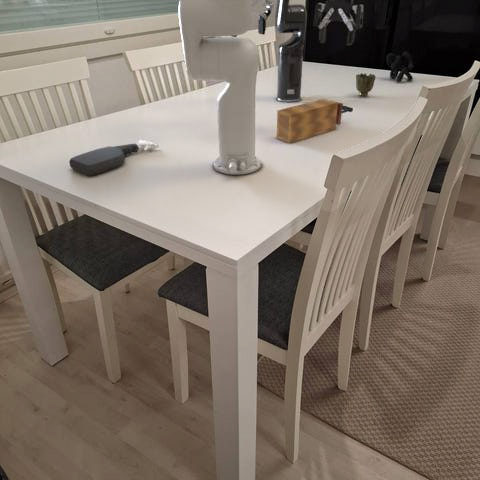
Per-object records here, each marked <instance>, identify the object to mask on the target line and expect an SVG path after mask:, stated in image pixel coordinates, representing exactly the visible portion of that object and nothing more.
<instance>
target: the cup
mask: <svg viewBox="0 0 480 480" xmlns="http://www.w3.org/2000/svg"><path fill="white" fill-rule="evenodd" d="M376 76H377V75H375V74H374V73H369V74H368V75H367V73H360V74H359V73H358V74H356V75H355V87H356V90H357V92H358V96H359V97H368V96H369V93H370V92H371V91H372V90H373V88H374V85H375V81H376V78H377V77H376Z"/></svg>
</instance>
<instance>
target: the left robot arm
mask: <svg viewBox="0 0 480 480" xmlns="http://www.w3.org/2000/svg"><path fill="white" fill-rule="evenodd" d="M274 5H275V4H274V3H273V2H272V1H270V0H179V1H178V20H179V29H180V37H181V45H182V50H183V51H182V52H183V59H184V64H185V70H186V73H187V76H189V78H190V79H192V80H194V81H200V82H201V81H202V82H225V83H226V85H225V86H224V87H223V88H222V90H221V91H220V92H219V94H218V96H217V100H216V110H217V111H216V112H217V133H218V135H217V136H218V137H217V138H218V157H216V158H215V159H214V160H213V167H214V169H215V170H216V171H217V172H219V173H222V174H226V175H233V176H234V175H238V176H239V175H247V174H252V173H254V172H256V171H258V170H259V169H260V168H261V166H262V161H261V159H260V158H259V157H258V156H256V90H257V89H256V88H257V76H258V70H259V62H260V61H259V60H260V50H259V47H258V44H256V42H255V41H254V40H252V39H249V38H246V37H238V36H241V35H244V34H246V33H247V32H248V31H249V30H250V29H251V26H252V25H251V24H252V20H253V19H252V17H253V15H257V16H258V18H259V19H258V21H257V28H258V29H257V32H258V33H257V34H259V35H265V34H266V30H267V20H268V17H269V16H270V15H271V13H272V10H273V8H274Z"/></svg>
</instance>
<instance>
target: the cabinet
mask: <svg viewBox="0 0 480 480" xmlns="http://www.w3.org/2000/svg"><path fill="white" fill-rule="evenodd" d="M334 101H335V100H329V99H326V98H321V99H317V100H313V101H309V102H306V103H302V104H298V105H297V104H296V105H293V106H289V107H285V108H281V109H278V110H276V112H277V113H276V139H278V140H280V141H282V142H286V143H288V144H292V143H296V142H299V141H301V140H305V139H308V138H311V137H315V136H318V135H322V134H324V133H328V132H331V131H334V130H336V126H337V124H336V117H337V107H338V102H339V101H335V102H334Z"/></svg>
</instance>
